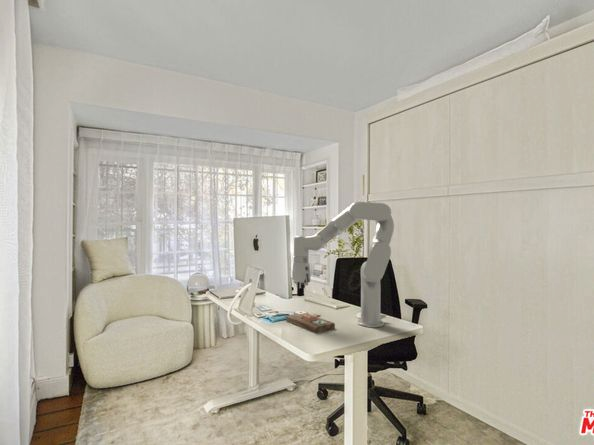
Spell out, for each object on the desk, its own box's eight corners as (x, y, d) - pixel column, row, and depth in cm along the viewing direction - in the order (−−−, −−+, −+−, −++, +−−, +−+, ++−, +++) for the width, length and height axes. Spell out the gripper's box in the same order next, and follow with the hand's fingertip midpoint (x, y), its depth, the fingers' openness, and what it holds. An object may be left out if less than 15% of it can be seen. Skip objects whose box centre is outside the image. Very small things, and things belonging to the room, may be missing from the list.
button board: (305, 317, 175) (305, 312, 175) (334, 328, 156) (334, 323, 156) (286, 321, 168) (286, 316, 168) (315, 333, 149) (315, 327, 149)
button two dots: (310, 319, 165) (310, 313, 165) (316, 322, 161) (317, 315, 161) (302, 321, 162) (302, 314, 162) (308, 323, 158) (309, 317, 158)
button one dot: (301, 316, 171) (301, 310, 171) (307, 318, 167) (307, 312, 167) (293, 317, 168) (293, 311, 168) (299, 320, 164) (299, 313, 164)
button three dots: (320, 326, 159) (320, 319, 159) (327, 328, 155) (327, 322, 155) (312, 328, 156) (312, 321, 156) (319, 330, 152) (319, 323, 152)
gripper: (316, 260, 165) (315, 297, 164) (298, 258, 177) (297, 292, 176) (304, 261, 160) (303, 299, 160) (286, 258, 172) (286, 294, 172)
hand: (300, 295), depth 168 cm, fingers closed
